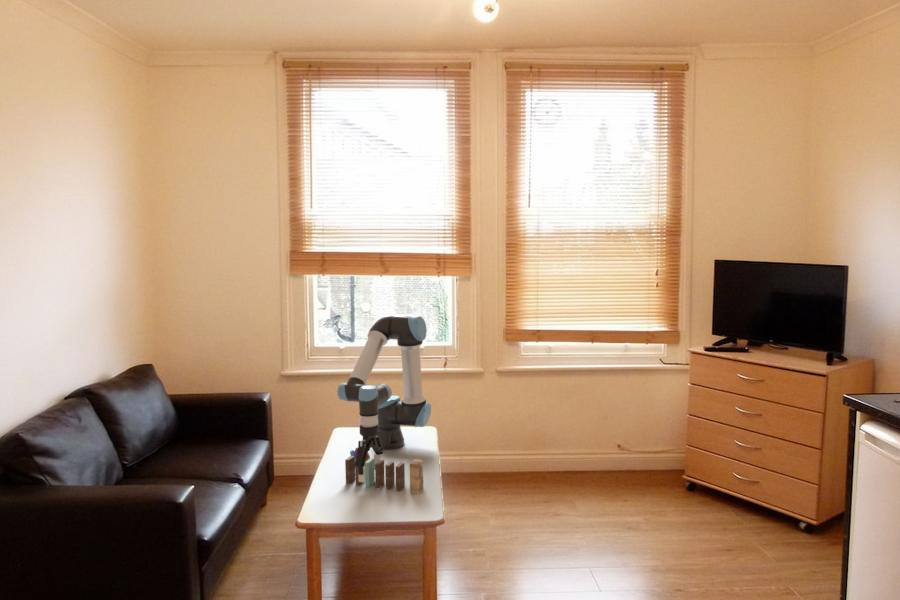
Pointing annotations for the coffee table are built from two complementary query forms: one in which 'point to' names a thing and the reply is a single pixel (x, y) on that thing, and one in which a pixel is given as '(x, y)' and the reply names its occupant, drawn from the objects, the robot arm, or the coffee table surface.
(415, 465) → the end block
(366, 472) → the teal domino
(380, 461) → the domino
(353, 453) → the colorful disc cluster
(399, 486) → the domino
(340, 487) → the coffee table surface
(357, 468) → the domino
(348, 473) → the domino
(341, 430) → the coffee table surface
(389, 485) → the domino
